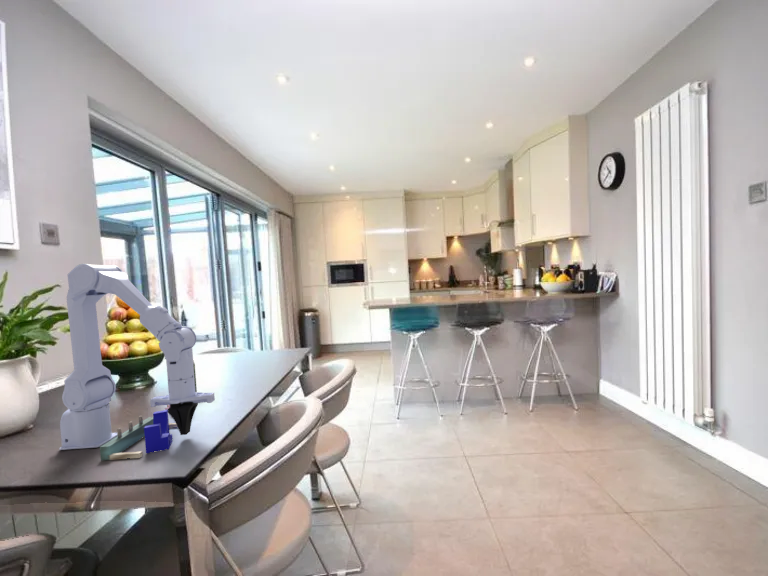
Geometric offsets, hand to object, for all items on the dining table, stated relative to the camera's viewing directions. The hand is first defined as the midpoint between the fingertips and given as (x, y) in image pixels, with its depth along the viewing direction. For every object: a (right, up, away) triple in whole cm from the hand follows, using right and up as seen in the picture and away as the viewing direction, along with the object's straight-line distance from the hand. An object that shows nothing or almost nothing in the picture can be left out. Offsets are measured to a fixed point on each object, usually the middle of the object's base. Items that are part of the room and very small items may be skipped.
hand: (185, 433), depth 92 cm
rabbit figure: (-12, -2, +20) cm, 24 cm away
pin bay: (-9, -2, 0) cm, 10 cm away
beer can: (-18, -2, +37) cm, 41 cm away
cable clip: (-5, -2, -1) cm, 6 cm away
